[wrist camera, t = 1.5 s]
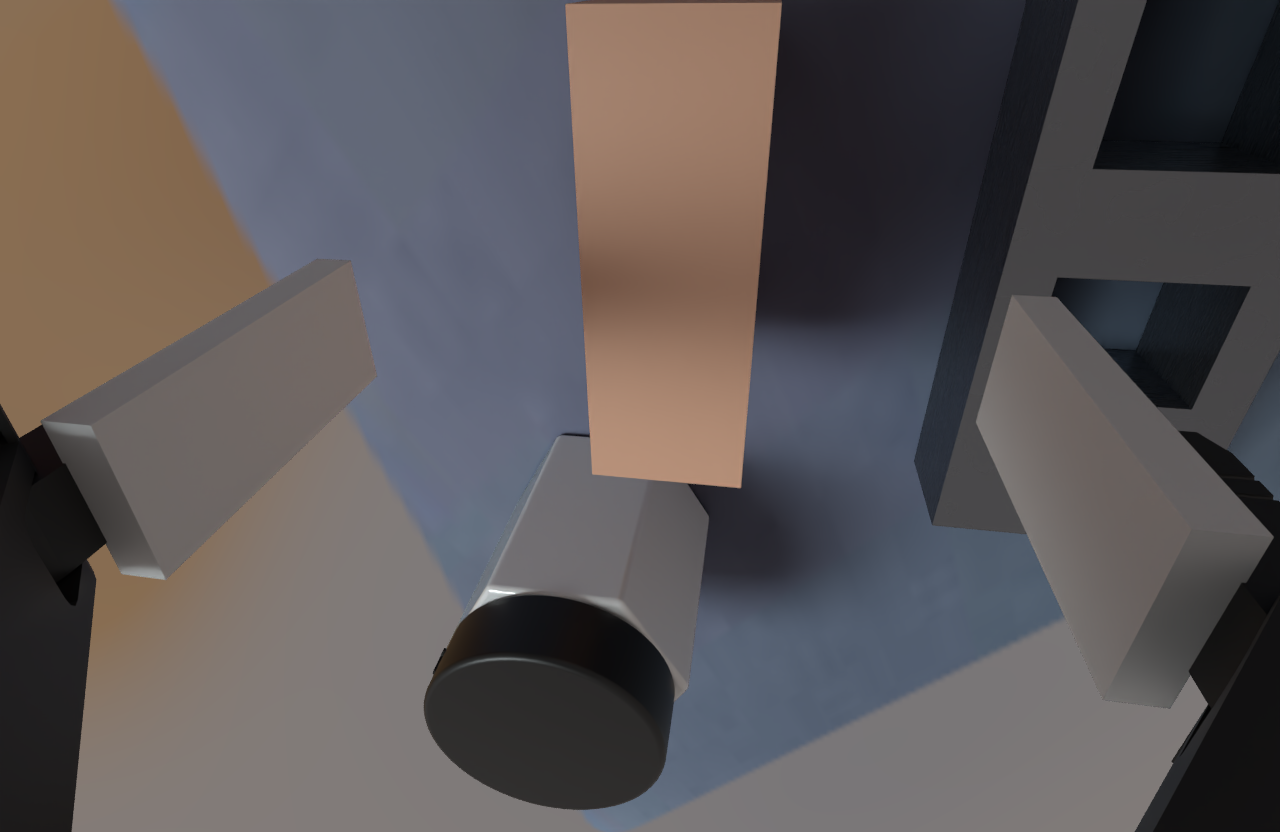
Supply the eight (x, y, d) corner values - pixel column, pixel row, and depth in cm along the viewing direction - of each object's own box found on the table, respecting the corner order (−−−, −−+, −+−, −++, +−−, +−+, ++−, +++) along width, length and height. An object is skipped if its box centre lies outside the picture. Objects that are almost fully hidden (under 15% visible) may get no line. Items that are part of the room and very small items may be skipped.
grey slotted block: (1094, -277, 17) (1172, -338, 14) (1476, -299, 16) (1662, -371, 13) (913, 461, 29) (932, 525, 25) (1126, 478, 28) (1174, 548, 24)
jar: (489, 464, 33) (361, 682, 22) (637, 398, 29) (565, 619, 19) (592, 593, 36) (521, 832, 26) (735, 548, 33) (716, 800, 23)
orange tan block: (647, -8, 21) (565, 3, 13) (779, -9, 21) (781, 2, 13) (648, 321, 27) (592, 474, 19) (751, 327, 27) (740, 488, 18)
